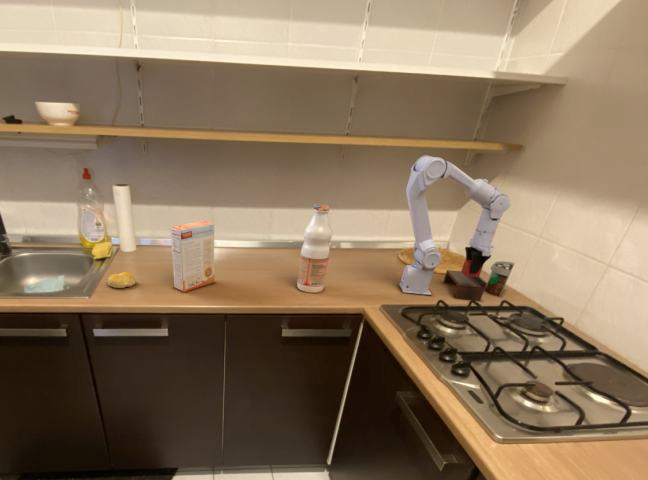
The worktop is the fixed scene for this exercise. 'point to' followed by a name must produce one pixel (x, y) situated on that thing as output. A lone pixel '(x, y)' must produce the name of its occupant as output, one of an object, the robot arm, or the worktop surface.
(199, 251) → the cracker box
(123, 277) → the bread roll
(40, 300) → the worktop surface
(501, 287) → the food container
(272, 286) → the worktop surface
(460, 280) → the dark brown storage bin
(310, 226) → the fruit juice
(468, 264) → the block
